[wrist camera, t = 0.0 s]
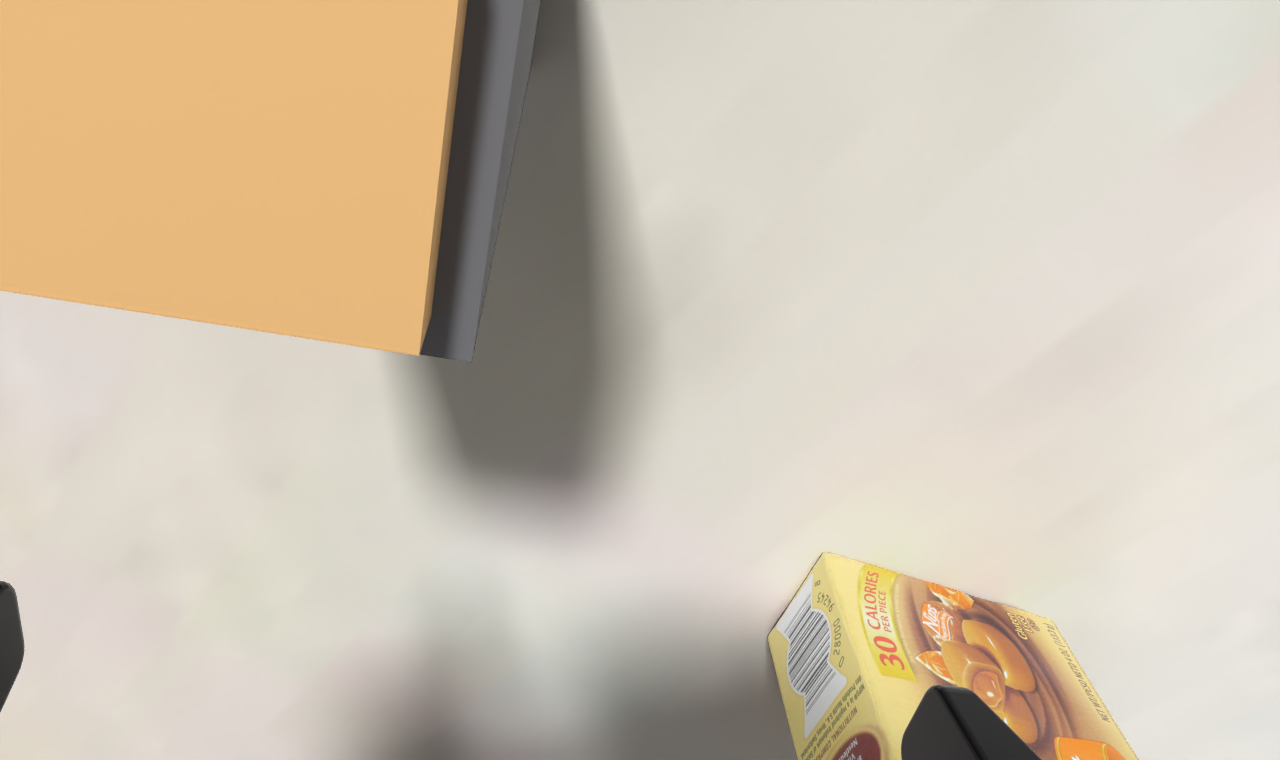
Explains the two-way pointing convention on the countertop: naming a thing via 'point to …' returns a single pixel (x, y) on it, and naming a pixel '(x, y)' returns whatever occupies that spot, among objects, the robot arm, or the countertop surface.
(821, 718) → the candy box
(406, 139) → the orange grey tall block
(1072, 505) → the countertop surface
